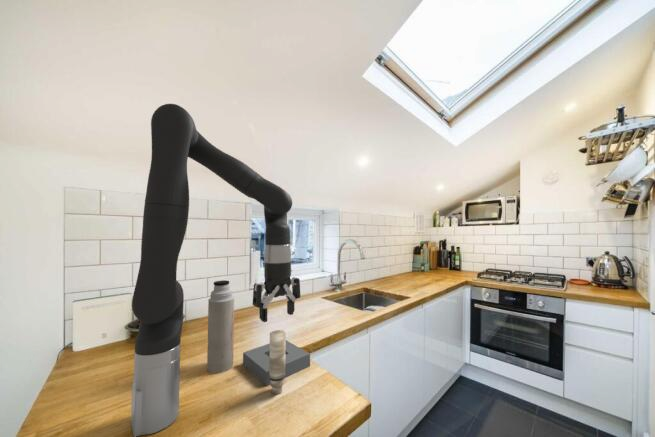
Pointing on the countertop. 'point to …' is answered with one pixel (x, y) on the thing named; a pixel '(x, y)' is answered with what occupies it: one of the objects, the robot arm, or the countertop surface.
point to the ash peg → (277, 360)
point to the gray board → (260, 360)
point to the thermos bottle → (220, 328)
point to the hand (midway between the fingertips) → (277, 317)
